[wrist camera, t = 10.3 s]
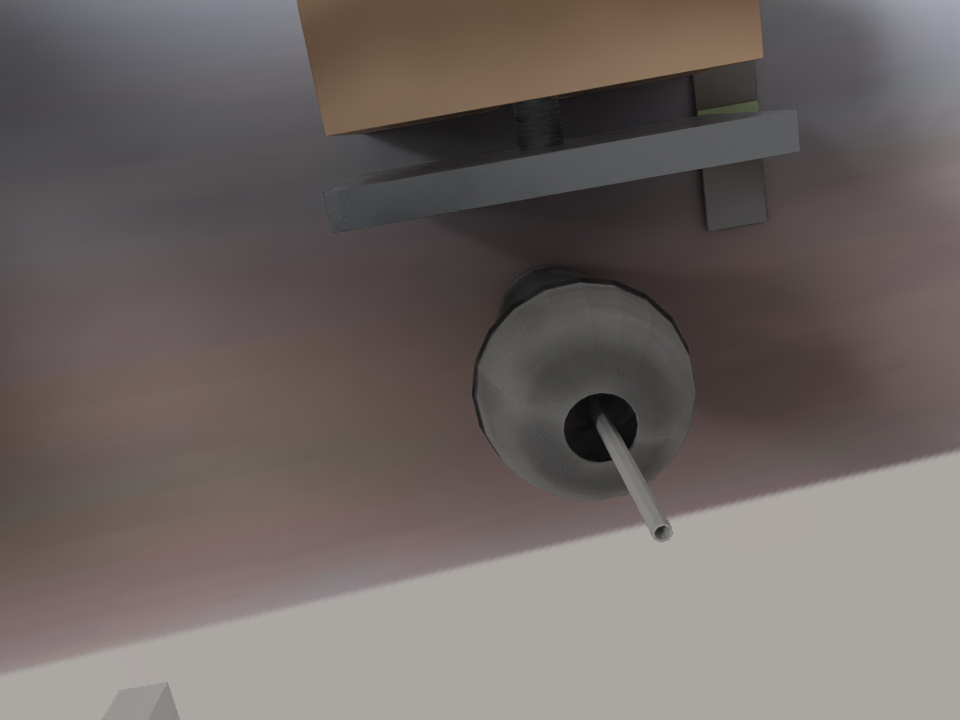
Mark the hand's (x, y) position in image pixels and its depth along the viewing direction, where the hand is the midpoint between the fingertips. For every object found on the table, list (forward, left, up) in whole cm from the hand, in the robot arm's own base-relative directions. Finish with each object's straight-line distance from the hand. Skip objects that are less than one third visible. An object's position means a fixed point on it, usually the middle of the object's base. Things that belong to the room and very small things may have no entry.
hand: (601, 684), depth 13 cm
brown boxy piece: (-5, +7, -27) cm, 28 cm away
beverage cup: (+1, +1, -27) cm, 27 cm away
